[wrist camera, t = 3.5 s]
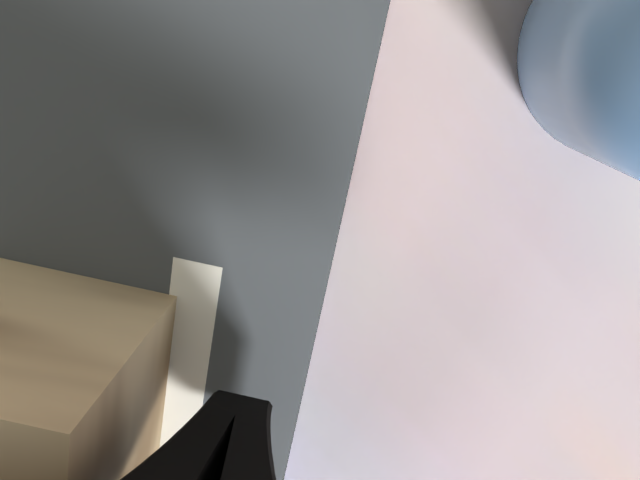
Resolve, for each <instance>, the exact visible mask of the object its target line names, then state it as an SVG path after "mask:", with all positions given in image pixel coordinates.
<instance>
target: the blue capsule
mask: <svg viewBox="0 0 640 480" xmlns="http://www.w3.org/2000/svg"><path fill="white" fill-rule="evenodd" d="M517 70H518V77H519V84H520V87H521V91H522V94H523V97H524V100H525V102H526V104H527V106H528V108H529V110H530V112H531V113H532V115H533V117H534V118H535V120H536V121H537V122H538V123H539V124H540V126H541V127H542V128H543V129H544V130H545V131H546V132H547V133H548V134H550V135H551V136H552V137H553V138H554V139H556V140H557V141H559V142H561V143H562V144H564V145H565V146H567V147H569V148H572V149H574V150H576V151H578V152H580V153H582V154H584V155H586V156H589V157H591V158H593V159H595V160H597V161H599V162H601V163H603V164H605V165H608V166H610V167H612V168H614V169H616V170H618V171H620V172H622V173H625V174H627V175H629V176H631V177H633V178H635V179H637V180H639V181H640V0H533V1H532V3H531V5H530V7H529V9H528V11H527V14H526V16H525V19H524V22H523V25H522V29H521V33H520V37H519V43H518V52H517Z"/></svg>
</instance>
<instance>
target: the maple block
mask: <svg viewBox="0 0 640 480" xmlns="http://www.w3.org/2000/svg"><path fill="white" fill-rule="evenodd" d="M176 301H177V296H174V295H169V294H165V293H160V292H155V291H151V290H146V289H142V288H137V287H132V286H128V285H123V284H119V283H114V282H109V281H105V280H100V279H96V278H91V277H86V276H82V275H77V274H73V273H68V272H63V271H59V270H54V269H50V268H45V267H40V266H36V265H31V264H27V263H22V262H17V261H13V260H8V259H3V258H0V480H120V479H121V478H123V477H124V476H125V475H127V474H128V473H129V472H131V471H132V470H133V469H135V468H136V467H137V466H138V465H140V464H141V463H142V462H143V461H144V460H146V459H147V458H148V457H149V456H150V455H152V454H153V453H154V452H155V451H156V450H158V449H159V447H160V439H161V430H162V422H163V413H164V405H165V396H166V387H167V379H168V370H169V362H170V353H171V344H172V336H173V327H174V319H175V310H176Z"/></svg>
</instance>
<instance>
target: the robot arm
mask: <svg viewBox="0 0 640 480" xmlns="http://www.w3.org/2000/svg"><path fill="white" fill-rule="evenodd" d="M272 407H273V406H272V404H271V403H270V402H269V401H267V400H262V399H258V398H254V397H249V396H245V395H240V394H236V393H231V392H227V391H222V390H218V391H216V392H214V393H213V394H212V396H211V397H210V398H209V399H208V400H207V402H206V403H205V404H204V405H203V406H202V407H201V408H200V409H199V410H198V412H197V413H196V414H195V415H194V416H193V417H192V418H191V419H190V420H189V421H188V422H187V423H186V424H185V425H184V426H183V427H182V428H181V429H180V430H178V431H177V432H176V433H175V434H174V435H173V436H172V437H171V438H170V439H169V440H168V441H167V442H166V443H165V444H163V445H162V446H161V447H160V448H159V449H158V450H156V451H155V452H154V453H153V454H152V455H150V456H149V457H148V458H147V459H146V460H144V461H143V462H142V463H141V464H140V465H138V466H137V467H136V468H135V469H133V470H132V471H131V472H129V473H128V474H127V475H125V476H124V477H123V478H121V479H120V480H276V475H275V469H274V462H273V455H272V446H271V412H272Z"/></svg>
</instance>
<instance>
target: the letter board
mask: <svg viewBox="0 0 640 480" xmlns="http://www.w3.org/2000/svg"><path fill="white" fill-rule="evenodd" d="M389 4H390V0H0V258H3V259H8V260H13V261H17V262H22V263H27V264H31V265H36V266H40V267H45V268H50V269H54V270H59V271H63V272H68V273H73V274H77V275H82V276H86V277H91V278H96V279H100V280H105V281H109V282H114V283H119V284H123V285H128V286H132V287H137V288H142V289H146V290H151V291H155V292H160V293H165V294H169V295H174V296H177V301H176V310H175V319H174V327H173V336H172V344H171V353H170V362H169V370H168V379H167V387H166V396H165V405H164V413H163V422H162V430H161V439H160V447H161V446H162V445H163V444H165V443H166V442H167V441H168V440H169V439H170V438H171V437H172V436H173V435H174V434H175V433H176V432H177V431H178V430H180V429H181V428H182V427H183V426H184V425H185V424H186V423H187V422H188V421H189V420H190V419H191V418H192V417H193V416H194V415H195V414H196V413H197V412H198V410H199V409H200V408H201V407H202V406H203V405H204V404H205V403H206V402H207V400H208V399H209V398H210V397H211V396H212V394H213V393H214V392H216V391H218V390H222V391H227V392H231V393H236V394H240V395H245V396H249V397H254V398H258V399H262V400H267V401H269V402H270V403H271V404H272V406H273V407H272V412H271V446H272V455H273V462H274V469H275V475H276V480H284V476H285V471H286V467H287V462H288V458H289V453H290V449H291V444H292V440H293V435H294V431H295V426H296V422H297V417H298V413H299V408H300V404H301V399H302V395H303V391H304V386H305V382H306V377H307V373H308V368H309V364H310V359H311V355H312V350H313V346H314V341H315V337H316V332H317V328H318V323H319V319H320V314H321V310H322V305H323V301H324V296H325V292H326V287H327V283H328V278H329V274H330V269H331V265H332V260H333V256H334V251H335V247H336V242H337V238H338V233H339V229H340V224H341V220H342V215H343V211H344V206H345V202H346V197H347V193H348V188H349V184H350V179H351V175H352V170H353V166H354V161H355V157H356V152H357V148H358V143H359V139H360V135H361V130H362V126H363V121H364V117H365V112H366V108H367V103H368V99H369V94H370V90H371V85H372V81H373V76H374V72H375V67H376V63H377V58H378V54H379V49H380V45H381V40H382V36H383V31H384V27H385V22H386V18H387V13H388V9H389ZM160 447H159V448H160Z"/></svg>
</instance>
